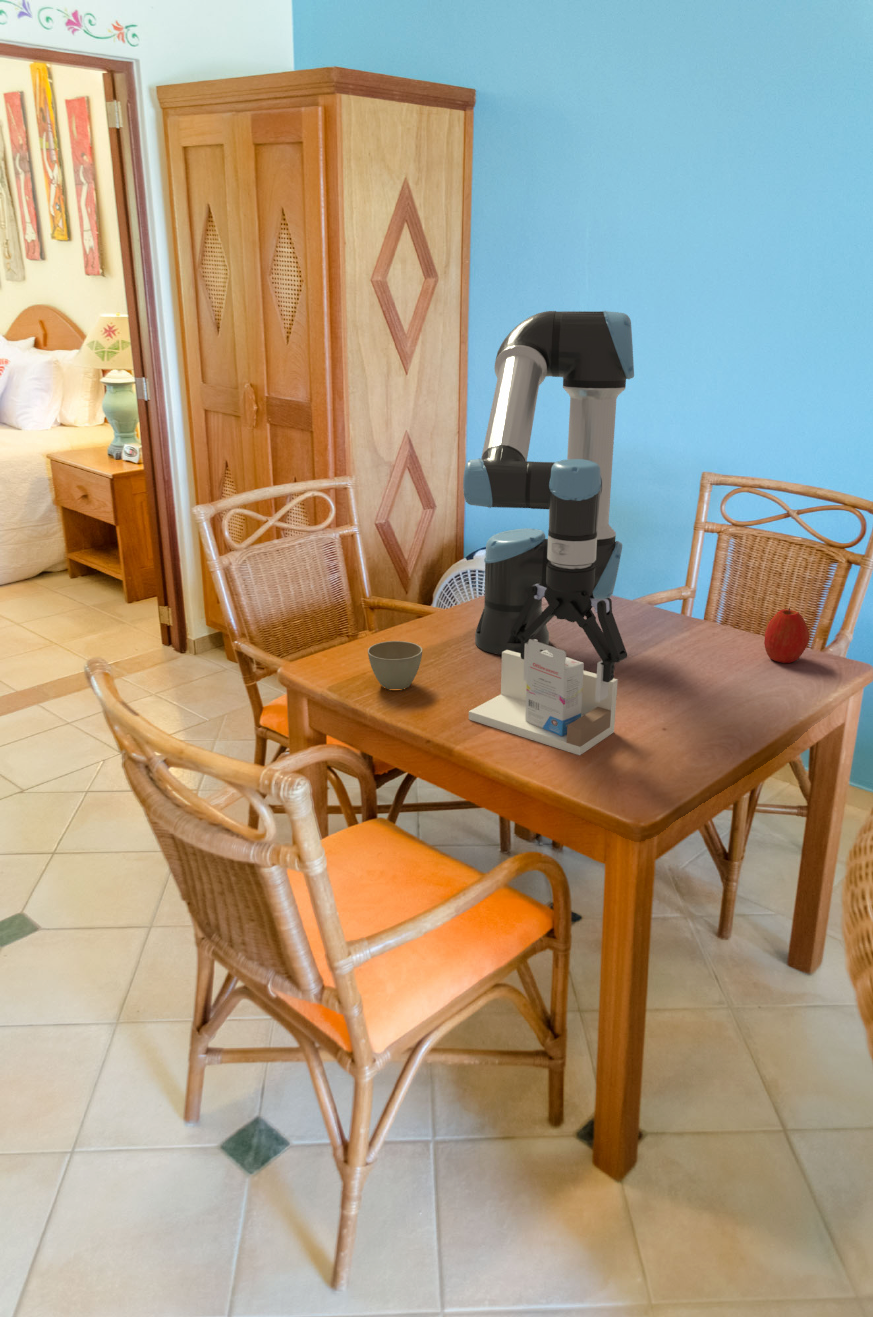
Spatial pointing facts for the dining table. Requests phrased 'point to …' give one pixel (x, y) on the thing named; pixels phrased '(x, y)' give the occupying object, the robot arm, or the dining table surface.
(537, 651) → the ink box
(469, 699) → the dining table surface
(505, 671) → the shelf
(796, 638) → the apple
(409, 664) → the flower pot
